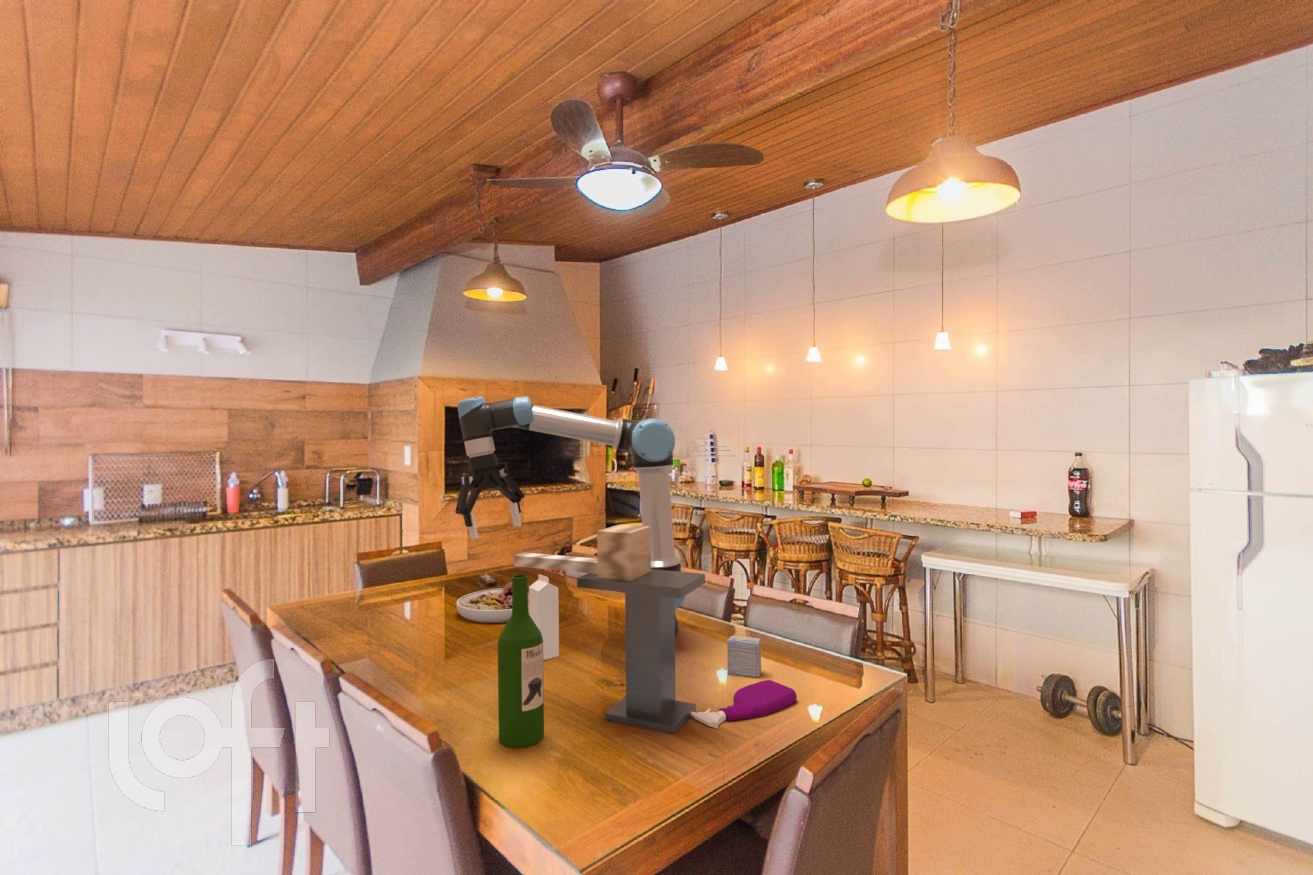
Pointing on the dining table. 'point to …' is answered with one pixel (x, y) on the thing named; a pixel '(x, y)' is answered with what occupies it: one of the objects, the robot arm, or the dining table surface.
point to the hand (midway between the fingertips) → (496, 532)
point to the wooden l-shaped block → (603, 555)
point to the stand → (650, 647)
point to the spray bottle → (751, 703)
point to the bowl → (488, 605)
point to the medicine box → (744, 656)
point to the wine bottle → (520, 674)
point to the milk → (545, 614)
